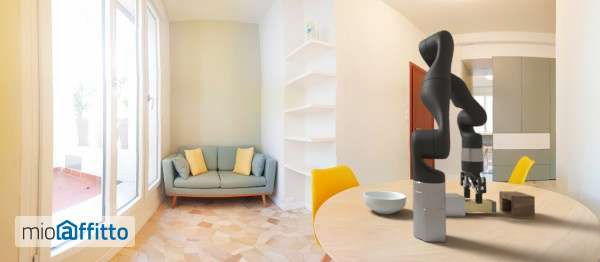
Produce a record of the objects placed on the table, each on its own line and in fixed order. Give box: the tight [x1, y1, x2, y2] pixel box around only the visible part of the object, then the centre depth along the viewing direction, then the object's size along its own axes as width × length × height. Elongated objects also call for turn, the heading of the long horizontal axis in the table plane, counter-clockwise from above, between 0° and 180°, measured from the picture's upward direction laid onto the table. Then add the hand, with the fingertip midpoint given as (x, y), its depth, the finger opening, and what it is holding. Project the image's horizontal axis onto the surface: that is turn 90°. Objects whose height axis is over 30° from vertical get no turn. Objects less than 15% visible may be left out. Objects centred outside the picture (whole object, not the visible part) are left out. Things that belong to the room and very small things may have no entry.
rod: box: [465, 198, 497, 214], centre depth 110 cm, size 4×24×4 cm, turn 85°
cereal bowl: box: [363, 190, 407, 215], centre depth 114 cm, size 17×17×7 cm
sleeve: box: [445, 192, 467, 218], centre depth 110 cm, size 7×15×7 cm, turn 85°
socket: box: [498, 190, 536, 219], centre depth 108 cm, size 9×7×8 cm
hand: (472, 200), depth 110 cm, fingers open, 8 cm apart
